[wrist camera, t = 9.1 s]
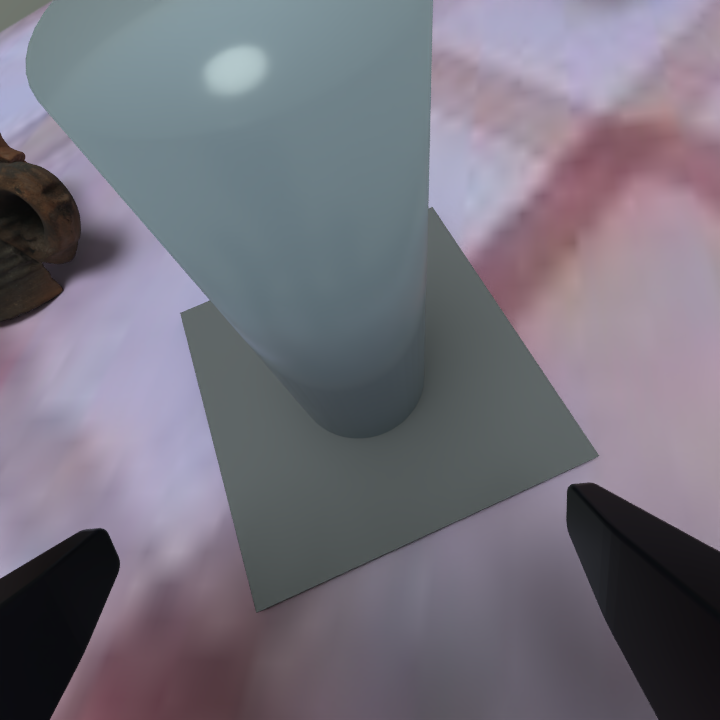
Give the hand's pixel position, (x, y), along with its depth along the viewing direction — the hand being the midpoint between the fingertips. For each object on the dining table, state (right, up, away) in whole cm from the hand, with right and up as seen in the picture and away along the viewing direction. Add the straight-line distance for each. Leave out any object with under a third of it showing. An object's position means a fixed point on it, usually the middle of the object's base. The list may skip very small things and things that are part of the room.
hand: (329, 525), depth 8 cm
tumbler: (+1, +3, +10) cm, 11 cm away
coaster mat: (+1, +2, +11) cm, 11 cm away
